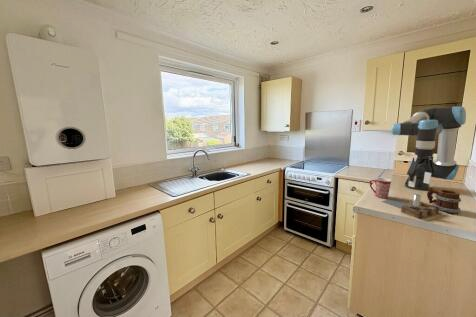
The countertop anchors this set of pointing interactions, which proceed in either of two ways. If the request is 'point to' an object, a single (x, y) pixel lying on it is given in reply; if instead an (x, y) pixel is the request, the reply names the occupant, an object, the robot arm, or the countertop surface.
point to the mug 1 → (381, 187)
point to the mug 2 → (445, 200)
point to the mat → (396, 202)
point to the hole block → (420, 210)
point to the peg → (416, 201)
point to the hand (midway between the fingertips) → (419, 184)
